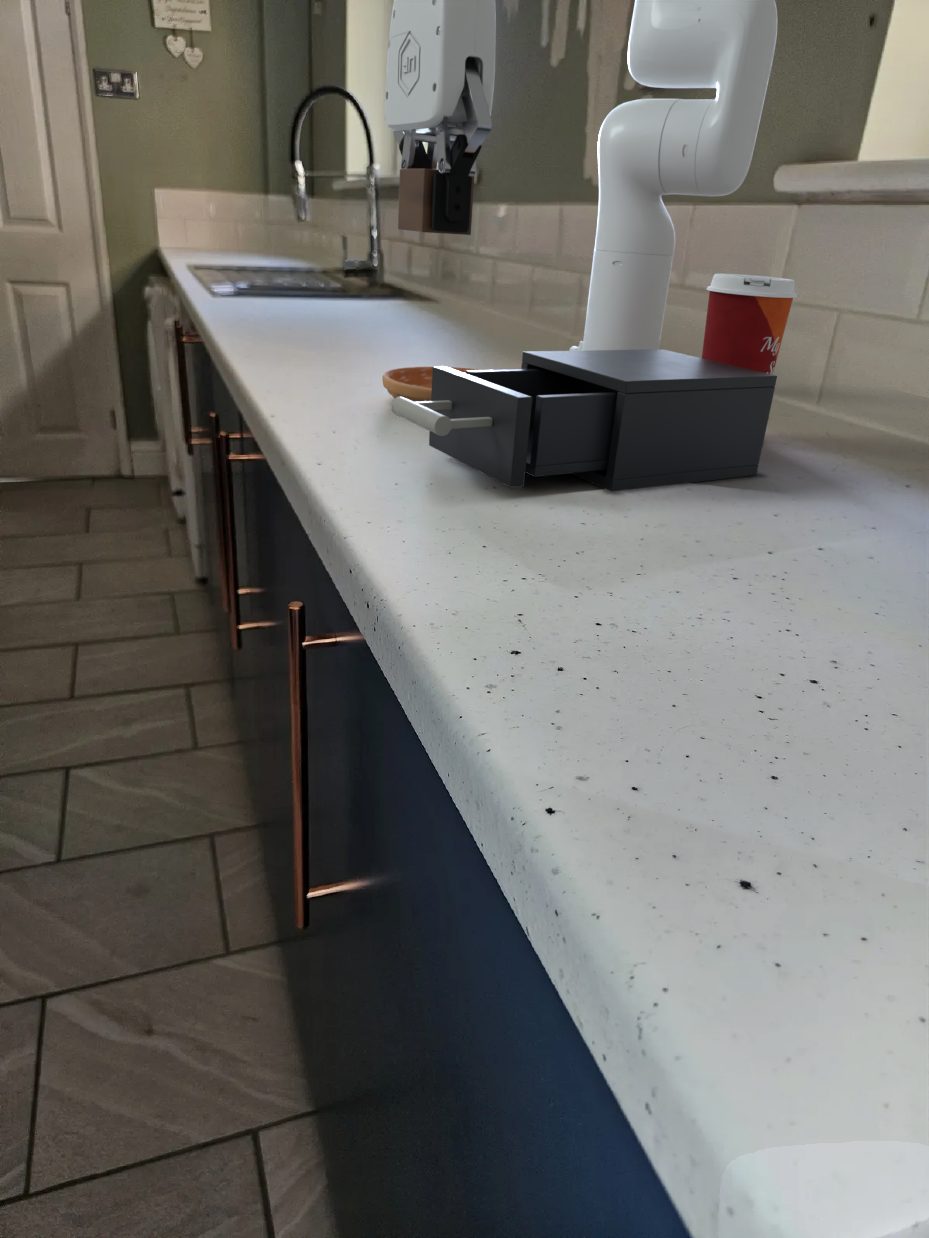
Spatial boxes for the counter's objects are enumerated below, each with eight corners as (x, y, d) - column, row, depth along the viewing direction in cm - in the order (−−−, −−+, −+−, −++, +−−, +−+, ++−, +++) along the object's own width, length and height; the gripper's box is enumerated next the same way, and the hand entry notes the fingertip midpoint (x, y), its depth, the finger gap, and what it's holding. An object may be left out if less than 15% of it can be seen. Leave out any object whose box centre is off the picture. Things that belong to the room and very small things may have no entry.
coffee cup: (770, 450, 83) (807, 282, 76) (683, 441, 84) (711, 275, 78) (761, 432, 90) (793, 277, 84) (680, 424, 91) (706, 271, 85)
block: (445, 232, 74) (448, 173, 72) (471, 235, 71) (475, 173, 69) (397, 229, 72) (399, 168, 70) (421, 232, 69) (424, 168, 67)
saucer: (419, 386, 101) (420, 359, 100) (550, 404, 97) (553, 376, 95) (354, 408, 88) (354, 378, 87) (503, 431, 83) (506, 399, 82)
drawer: (450, 494, 60) (456, 400, 57) (374, 449, 70) (376, 367, 67) (664, 471, 69) (677, 390, 67) (570, 435, 79) (578, 362, 76)
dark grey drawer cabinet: (611, 491, 67) (627, 381, 63) (513, 448, 77) (522, 351, 74) (756, 475, 74) (777, 375, 71) (649, 437, 85) (663, 349, 81)
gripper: (354, -31, 69) (352, 223, 76) (457, -79, 55) (442, 233, 63) (438, -13, 72) (428, 227, 80) (554, -55, 59) (528, 238, 67)
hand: (434, 227), depth 71 cm, fingers closed on block, 4 cm apart
